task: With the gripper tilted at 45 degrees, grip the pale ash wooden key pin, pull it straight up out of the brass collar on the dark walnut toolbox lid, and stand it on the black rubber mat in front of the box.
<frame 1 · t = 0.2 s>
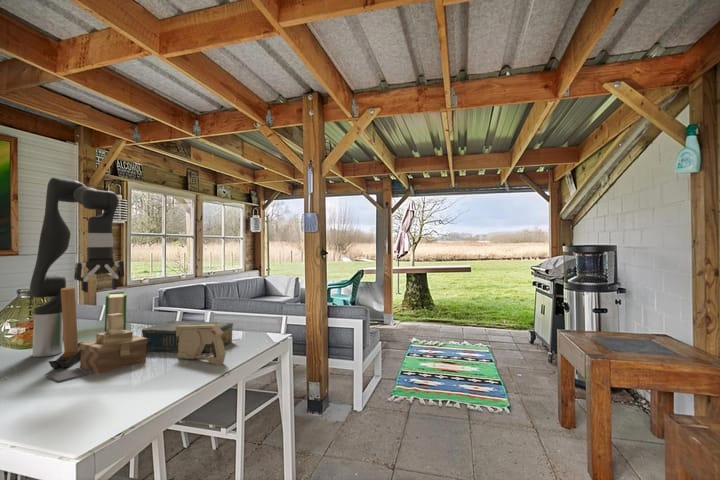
hand: (100, 290, 123), 29 cm above the table, tool pointing down, fingers open, 8 cm apart
gun: (199, 361, 135), on the table
metal box: (189, 347, 156), on the table
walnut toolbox: (113, 364, 130), on the table
hammer: (70, 363, 133), on the table
wooden key: (114, 340, 131), point 9 cm above the table, touching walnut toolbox
rubber mat: (68, 375, 118), on the table
hardback book: (115, 347, 155), on the table
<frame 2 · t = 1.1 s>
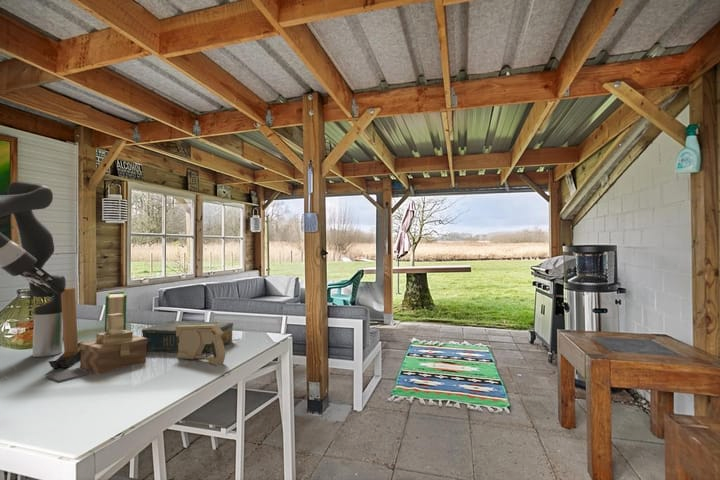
hand: (56, 291, 116), 29 cm above the table, tool tilted 45°, fingers open, 8 cm apart
nothing on the table moved.
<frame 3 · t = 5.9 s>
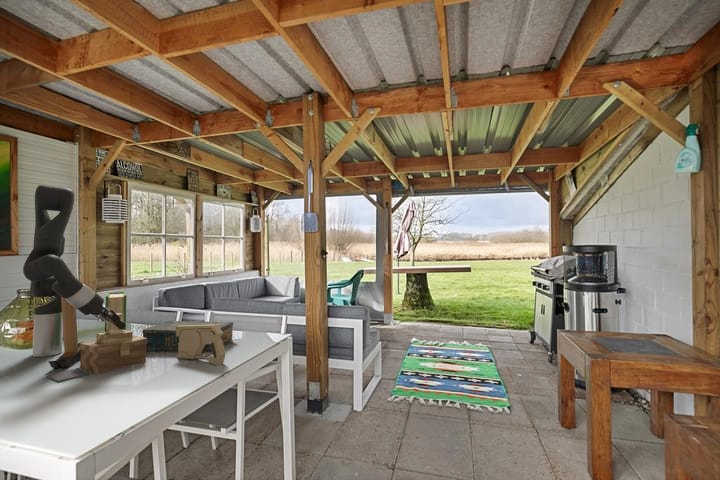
hand: (120, 326, 133), 14 cm above the table, tool tilted 45°, fingers closed on wooden key, 4 cm apart
wooden key: (114, 340, 131), point 9 cm above the table, touching gripper, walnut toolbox
when the fingers open (7 cm above the table, at t = 12.7 s): wooden key drops 1 cm, resting on rubber mat.
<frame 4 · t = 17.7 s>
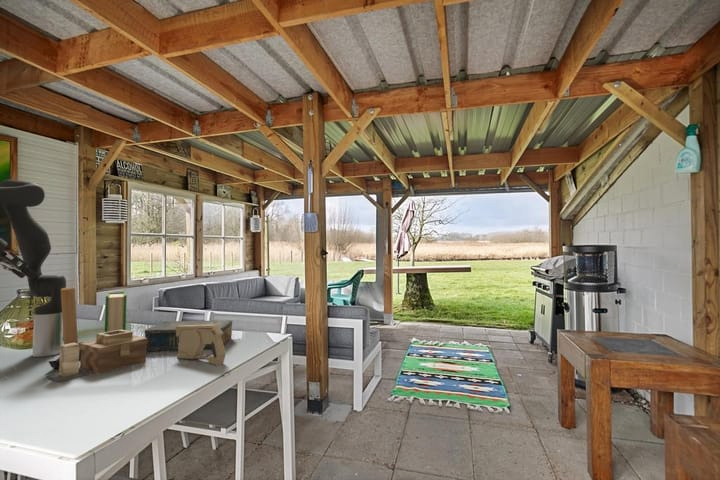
hand: (29, 276, 114), 35 cm above the table, tool tilted 45°, fingers open, 8 cm apart
metal box: (191, 346, 158), on the table
wooden key: (68, 373, 118), point 1 cm above the table, touching rubber mat
everything else where it was.
at the end: wooden key inside the target area on the rubber mat (0.1 cm from its centre), point 0.6 cm above the rubber mat's base; wooden key tilted 0°; the gripper is holding nothing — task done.
